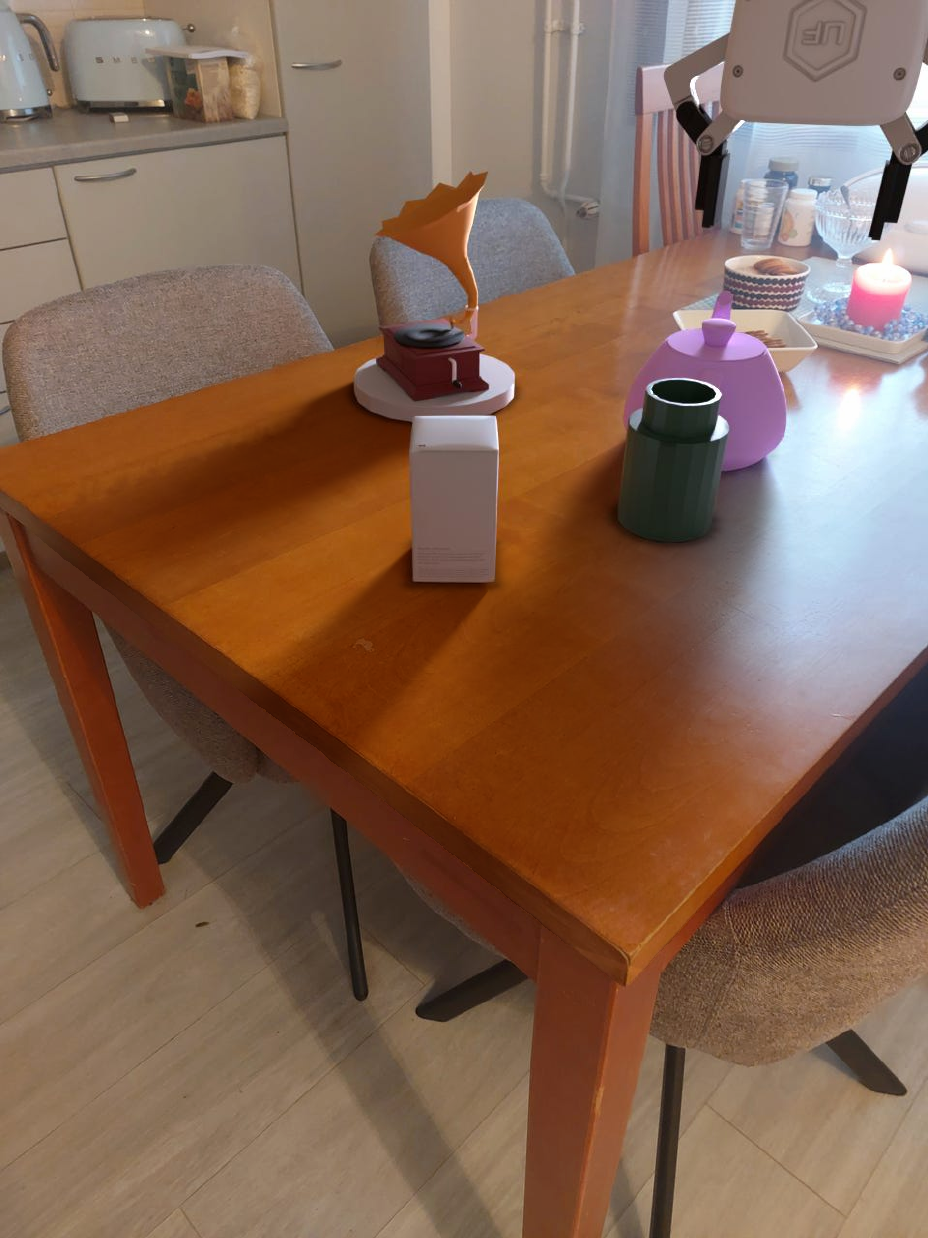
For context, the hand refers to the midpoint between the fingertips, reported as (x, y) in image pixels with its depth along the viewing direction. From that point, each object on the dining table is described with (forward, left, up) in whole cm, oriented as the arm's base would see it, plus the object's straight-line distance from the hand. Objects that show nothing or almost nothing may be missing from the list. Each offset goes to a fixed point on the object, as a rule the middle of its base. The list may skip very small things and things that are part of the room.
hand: (790, 229), depth 54 cm
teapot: (+7, -37, -31) cm, 49 cm away
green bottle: (+7, -17, -31) cm, 36 cm away
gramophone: (+41, -39, -31) cm, 64 cm away
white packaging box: (+23, -2, -31) cm, 39 cm away
